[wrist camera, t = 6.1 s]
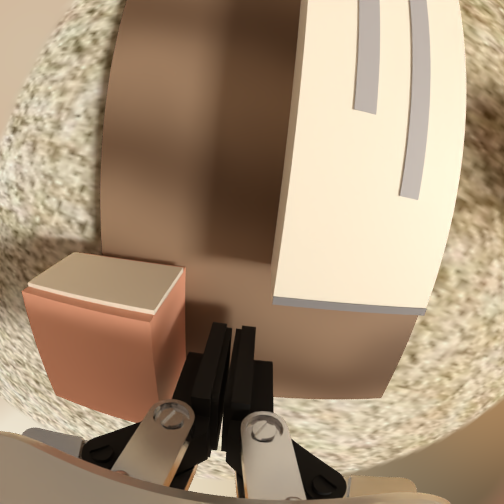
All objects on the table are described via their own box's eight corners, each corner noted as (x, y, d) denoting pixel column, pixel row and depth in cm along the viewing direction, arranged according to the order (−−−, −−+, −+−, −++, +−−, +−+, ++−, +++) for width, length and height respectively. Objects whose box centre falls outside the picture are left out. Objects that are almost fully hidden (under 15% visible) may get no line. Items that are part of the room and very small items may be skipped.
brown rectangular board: (148, -27, 8) (139, -39, 7) (442, 14, 8) (455, 6, 7) (127, 357, 15) (118, 370, 13) (375, 383, 14) (380, 398, 13)
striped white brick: (303, -28, 7) (312, -71, 4) (419, 4, 7) (454, -23, 4) (271, 264, 11) (272, 304, 8) (392, 277, 11) (424, 315, 8)
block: (79, 249, 11) (20, 287, 7) (185, 263, 11) (149, 317, 7) (94, 344, 13) (55, 394, 9) (186, 364, 13) (163, 429, 9)
